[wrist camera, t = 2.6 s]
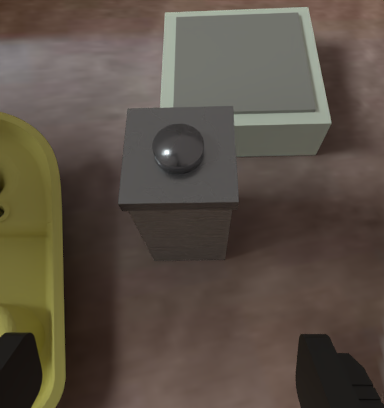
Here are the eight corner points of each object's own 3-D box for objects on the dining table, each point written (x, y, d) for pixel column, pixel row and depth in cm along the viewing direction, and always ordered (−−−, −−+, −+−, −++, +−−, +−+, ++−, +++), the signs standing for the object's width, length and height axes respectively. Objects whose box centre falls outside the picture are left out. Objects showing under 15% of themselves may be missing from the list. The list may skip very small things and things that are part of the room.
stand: (165, 158, 28) (158, 124, 25) (169, 51, 34) (164, 9, 30) (315, 155, 28) (332, 120, 24) (297, 46, 33) (309, 3, 29)
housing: (151, 263, 25) (114, 198, 15) (154, 195, 27) (125, 100, 18) (227, 262, 25) (239, 196, 15) (225, 193, 27) (234, 97, 17)
